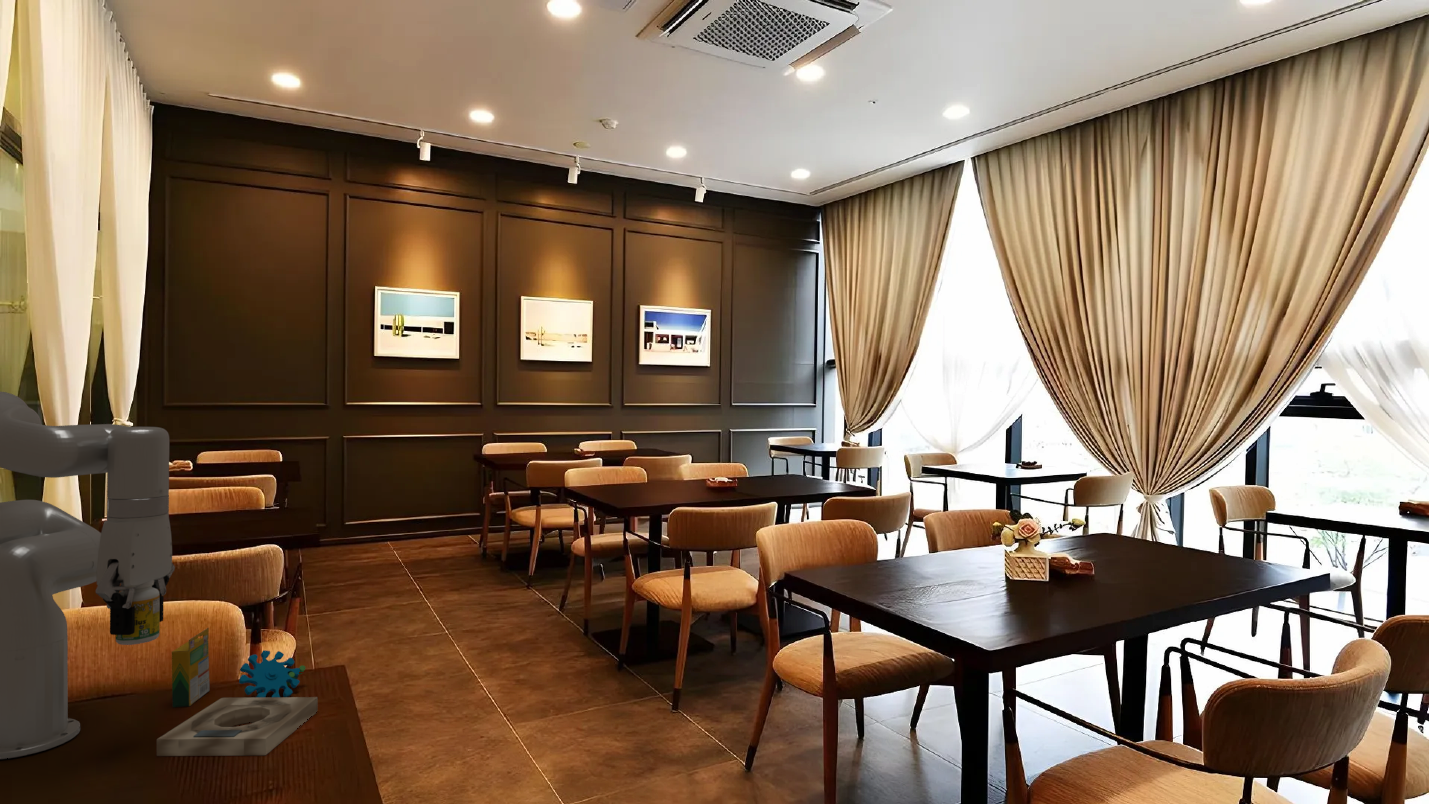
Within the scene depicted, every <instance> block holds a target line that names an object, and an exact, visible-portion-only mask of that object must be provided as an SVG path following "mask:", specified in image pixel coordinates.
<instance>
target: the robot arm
mask: <svg viewBox="0 0 1429 804" xmlns="http://www.w3.org/2000/svg"><path fill="white" fill-rule="evenodd" d="M0 469H4V470H8V471H11V472H16V473H20V474H24V475H30V476H33V477H35V476H36V477H40V478H41V477H42V478H49V479H50V478H53V479H55V478H67V477H75V476H86V475H96V474H98V475H99V474H106V473H107V474H106V476H107V477H106V480H107V481H106V487H107V488H106V496H107V497H106V520H105V521H104V522H103V525H102V528H101V532H100V531H99V530H97V529H96V528H94V527H93V526H91V525H89V524H88V523H86V522H84V521H82V520H81V519H79V518H77V517H75V516H74V515H72V514H70V513H68V512H67V511H65V510H62V509H61V508H59V507H57V506H55V505H54V504H51V503H49V502H45V501H43V500H39V499H38V500H36V499H20V500H11V501H10V500H9V501H1V502H0V760H7V758H8V759H13V758H20V757H23V756H24V757H25V756H29V755H33V754H37V753H40V752H43V751H44V752H45V751H47V750H50V749H53V748H55V747H57V746H60V745H63V744H65V743H67V742H69V741H71V740H72V739H74V738H75V737H77V736H78V734H79V733H80V731H81V723H80V721H78V719H77V720H76V719H74V718H71V717H68V716H69V715H68V713H69V712H68V709H69V707H68V705H69V704H68V703H69V702H68V697H69V696H68V691H69V689H68V685H69V684H68V682H69V681H68V678H69V677H68V676H69V675H68V670H69V669H68V667H69V666H68V665H69V664H68V660H69V659H68V650H69V649H68V647H69V646H68V645H69V644H68V642H69V640H68V639H69V638H68V637H69V636H68V622H67V617H66V615H65V613H64V611H63V610H62V609H61V607H60V606H59V605H58V604H57V602H56V600H55V599H54V596H53V595H56V594H58V593H61V592H65V591H70V590H74V589H77V588H81V587H83V586H87V585H90V584H93V583H96V585H97V586H96V589H95V594H96V595H98V596H99V597H100V598H101V599H102V600H103V602H105V604H106V608H107V609H109V634H110V635H112V636H116V635H131V634H133V633H134V631H135V607H131V605H132V600H133V596H134V592H135V587H137V586H140V585H142V584H144V583H146V582H149V581H151V580H154V584H153V585H152V587H153V588H156V589H157V590H158V591H159V594H160V623H161V622H163V621H164V596H165V595H166V594H167V585H168V583H169V582H170V578H171V576H172V574H173V573H174V572H175V568H176V566H175V564H174V563H173V541H172V539H173V538H172V531H171V530H172V529H171V523H170V517H169V516H170V515H169V514H170V495H169V494H170V493H169V491H170V434H169V432H168V431H167V430H166V429H165V428H162V427H158V426H127V425H122V424H114V423H106V424H105V423H103V424H102V423H100V424H98V423H97V424H69V425H46V424H45V425H44V424H42V420H41V418H40V415H39V414H38V413H37V411H35V410H34V409H33V408H31V407H29V406H28V405H27V403H26V402H25V401H24V400H23V399H22V398H21V397H19V396H17V395H15V394H13V393H10V392H6V391H0ZM121 582H123V583H124V584H123V585H124V586H121ZM121 591H125V595H124V597H123V596H122V595H121V594H120V592H121Z"/></svg>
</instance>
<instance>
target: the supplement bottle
mask: <svg viewBox="0 0 1429 804" xmlns="http://www.w3.org/2000/svg"><path fill="white" fill-rule="evenodd" d="M123 584H124V583H123V582H121V583H120V586H124V585H123ZM153 584H154V580H151V581H149V582H146V583H144V584H142V585H140V586H137V587H135V592H134V596H133V600H132V605H131V607H135V631H134V633H133V634H131V635H114V636H115V637H114V638H115V642H116V644H117V645H121V646H132V645H133V646H134V645H140V644H144V643H148V642H149V643H150V642H153V641H155V640H156V639H158V638H159V637H160V630H161V629H160V628H161V627H160V626H161V625H160V624H161V622H160V594H159V591H158V590H157V589H156V588H153V587H152V585H153ZM119 593H120V594H121V595H122V596H123V597H124V595H125V591H119Z"/></svg>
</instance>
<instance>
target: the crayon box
mask: <svg viewBox="0 0 1429 804" xmlns="http://www.w3.org/2000/svg"><path fill="white" fill-rule="evenodd" d="M209 634H210V633H209V627H207V628H205V629H204V630H202V631H201V632H199V633H198V634H196V635H194V636H193V637H191V638H189V639H188V641H187V642H185V643H184V644H182V645H180V646H179V647H177V648H176V649H174V650H172V651H171V686H172V688H171V696H172V699H171V700H172V708H182V707H185V708H187V707H191V706H192V705H193V704H194V703H195V702H196V701H198V700H199V699H201V698H202V697H203V696H204V695H206V694H207V693H208V692H210V659H209V658H210V656H209V654H210V652H209V650H210V648H209V647H210V645H209V637H210V635H209Z"/></svg>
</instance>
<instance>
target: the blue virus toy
mask: <svg viewBox="0 0 1429 804" xmlns="http://www.w3.org/2000/svg"><path fill="white" fill-rule="evenodd" d="M270 654H271V651H270V650H267V649H266V650H263V651H261V653H260V657H261V662H260V663H259V662H257V659H258V655H257V654H255V653H254V654H252V655H249V657H248V658H247V661H248V662H249V663H250V664H251V665H252V666H253V669H251V666H250V665H249V663H248V662H244V663H243V664H242V665H241V667H240V668H239V671H240V672H242V673H246V674H248V675H249V676H250V677H249V676H248V675H246V674H241V675H240V677H239V679H238V680H239V681H238V683H239V684H241V685H242V684H243V685H244V684H249V685H247V686H246V687H245V688H244V692H245V695H246V696H249V695H251V694H253V692H256V694H257V695H256V696H255V697H266V696H267V694H268V693H269V692H273V694H272V695H271V697H281V696H280V693H279V690H280V689H283V694H282V696H283V697H290V696H291V695H292V694H293V693H294V691H293V690H292V689H295V688H297V686H299V684H300V682H301V681H300V680H299V677H300V676H299V675H302V674H303V673H304V672H305V670H306V666H305V665H300V666H299V667H295V668H290V667H292V666H293V665H294V664H295V660H294V659H293V657H288V658H287V659H286V660H285V661H279V660H282V658H283V657H284V653H283V652H282V651H277V652H276V653H275V654H274V657H273V658H271V660H269V659H267V658H269V657H270ZM285 666H287V667H285ZM288 667H289V668H288ZM299 672H303V673H299ZM250 684H252V685H250ZM254 685H255V686H254ZM290 687H291V688H290Z"/></svg>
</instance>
